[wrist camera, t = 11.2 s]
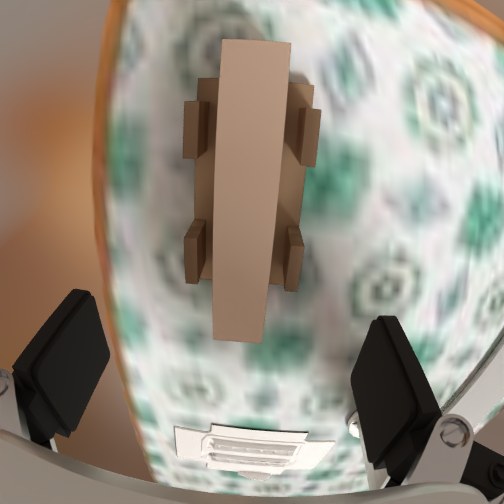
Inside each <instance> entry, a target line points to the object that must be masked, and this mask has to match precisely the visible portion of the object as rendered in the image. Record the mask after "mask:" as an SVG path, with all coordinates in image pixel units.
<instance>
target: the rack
mask: <svg viewBox="0 0 504 504" xmlns="http://www.w3.org/2000/svg"><path fill="white" fill-rule="evenodd" d="M218 93H219V78H198V92H197V101H185V102H184V130H183V159H195V219H194V221H193V223H192V224H191V226H190V228H189V230H188V232H187V233H186V235H185V237H184V258H185V279H186V283H189V284H198V282H199V279H209V280H213V212H214V177H215V151H216V129H217V110H218ZM313 93H314V85H307V84H298V83H289V82H288V91H287V104H286V115H285V127H284V138H283V149H282V160H281V171H280V181H279V191H278V201H277V211H276V221H275V230H274V240H273V249H272V258H271V267H270V276H269V284H275V285H284V288H285V291H294V292H297V289H298V283H299V277H300V271H301V265H302V259H303V252H304V244H303V240H302V236H301V233H300V229H299V222H300V214H301V206H302V198H303V190H304V182H305V173H306V166H308V167H315V165H316V156H317V147H318V138H319V129H320V119H321V110H319V109H312V104H313Z"/></svg>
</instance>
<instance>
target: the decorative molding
mask: <svg viewBox="0 0 504 504" xmlns="http://www.w3.org/2000/svg"><path fill="white" fill-rule="evenodd" d="M503 397H504V336H503V338H502V339H501V340H500V342H499V343H498V345H497V346H496V348H495V349H494V351H493V352H492V353H491V355H490V356H489V358H488V359H487V360H486V362H485V363H484V364H483V366H482V367H481V368H480V369H479V371H478V372H477V373H476V375H475V376H474V377H473V378H472V380H471V381H470V382H469V383H468V384H467V386H466V387H465V388H464V389H463V390H462V392H461V393H460V394H459V395H458V396H457V397H456V398H455V400H454V401H453V402H452V403H451V404H450V405H449V406H448V407H447V408H446V409H445V410H444V412H443V413H442V416H443V415H446V414H457V415H460V416H462V417H464V418H465V419H466V420H467V421H468V422H469V423H470V424H471V426H472V428H474V427H475V426H476V425H477V424H478V423H480V422H481V421H482V420H483V419H484V418H485V417H486V416H487V415H488V413H489V412H490V411H491V410H492V409H493V408H494V407H495V406H496V405H497V404H498V403H499V402H500V401H501V400H502V398H503Z"/></svg>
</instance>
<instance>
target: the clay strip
mask: <svg viewBox="0 0 504 504" xmlns="http://www.w3.org/2000/svg"><path fill="white" fill-rule="evenodd" d="M290 53H291V43H286V42H276V41H263V40H244V39H222V51H221V64H220V78H219V93H218V110H217V129H216V151H215V177H214V212H213V339H215V340H226V341H237V342H250V343H262V336H263V328H264V320H265V311H266V303H267V294H268V285H269V276H270V267H271V258H272V249H273V240H274V230H275V221H276V211H277V201H278V191H279V181H280V171H281V160H282V149H283V138H284V127H285V115H286V104H287V91H288V79H289V66H290Z"/></svg>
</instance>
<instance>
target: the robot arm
mask: <svg viewBox="0 0 504 504" xmlns="http://www.w3.org/2000/svg"><path fill="white" fill-rule="evenodd" d="M109 358H110V351H109V348H108V345H107V341H106V338H105V335H104V331H103V328H102V324H101V321H100V317H99V313H98V309H97V306H96V302H95V298H94V296H91V293H90V292H89V291H86V290H80V289H73V290H72V291H71V292H70V293H69V294H68V295H67V297H66V298H65V299H64V300H63V301H62V303H61V304H60V305H59V306H58V307H57V309H56V310H55V311H54V312H53V314H52V315H51V316H50V317H49V318H48V320H47V321H46V322H45V323H44V325H43V326H42V327H41V328H40V330H39V331H38V332H37V334H36V335H35V336H34V338H33V339H32V340H31V341H30V343H29V344H28V345H27V347H26V348H25V349H24V351H23V352H22V354H21V355H20V356H19V358H18V359H17V360H16V362H15V364H14V365H13V366H12V368H13V369H14V371H13V373H12V374H11V373H10V371H8V370H6V369H3V368H0V504H504V456H502V455H500V454H498V453H496V452H494V451H492V450H490V449H489V448H487V447H485V446H483V445H481V444H479V443H477V442H475V441H474V440H473V439H474V432H473V428H472V426H471V424H470V423H469V422H468V421H467V420H466V419H465V418H464V417H462V416H460V415H457V414H446V415H443V416H442V413H441V411H440V408H439V406H438V403H437V401H436V399H435V396H434V394H433V392H432V389H431V387H430V385H429V383H428V380H427V378H426V376H425V374H424V371H423V369H422V367H421V365H420V363H419V361H418V359H417V357H416V355H415V353H414V351H413V349H412V347H411V345H410V343H409V341H408V339H407V337H406V335H405V333H404V331H403V329H402V327H401V325H400V323H399V321H398V319H397V317H396V316H378V317H377V319H376V320H373V321H372V323H371V325H370V328H369V331H368V333H367V336H366V339H365V341H364V344H363V346H362V349H361V352H360V354H359V357H358V359H357V361H356V364H355V366H354V369H353V371H352V374H351V386H352V390H353V394H354V399H355V403H356V407H357V411H356V412H355V413H354V414H353V415H352V416H351V418H350V419H349V421H348V430H349V433H350V434H351V435H353V436H354V437H358V438H360V441H361V446H362V451H363V456H364V462H365V467H366V473H367V478H368V484H369V490H370V491H363V492H355V493H346V494H335V495H323V496H305V497H258V496H240V495H227V494H217V493H209V492H201V491H194V490H188V489H182V488H176V487H171V486H165V485H161V484H156V483H151V482H147V481H143V480H139V479H135V478H131V477H127V476H124V475H120V474H116V473H113V472H110V471H107V470H103V469H100V468H97V467H94V466H91V465H88V464H86V463H83V462H80V461H77V460H75V459H72V458H69V457H67V456H65V455H62V454H59V453H58V451H57V448H56V445H55V442H54V438H53V437H54V434H55V432H56V433H58V434H60V435H63V436H65V437H68V438H69V436H70V434H71V431H75V430H76V428H77V426H78V424H79V422H80V419H81V417H82V415H83V413H84V411H85V409H86V406H87V404H88V402H89V400H90V398H91V396H92V394H93V392H94V389H95V387H96V385H97V383H98V381H99V379H100V377H101V375H102V373H103V371H104V369H105V367H106V365H107V363H108V361H109Z"/></svg>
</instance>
